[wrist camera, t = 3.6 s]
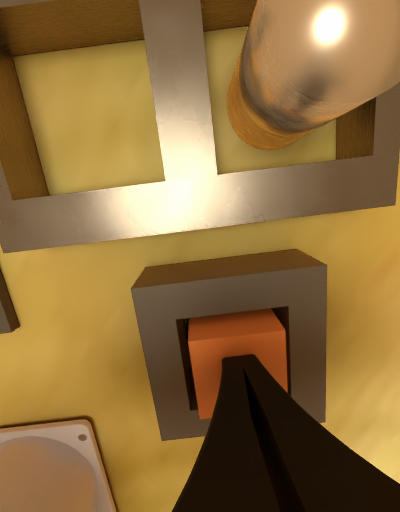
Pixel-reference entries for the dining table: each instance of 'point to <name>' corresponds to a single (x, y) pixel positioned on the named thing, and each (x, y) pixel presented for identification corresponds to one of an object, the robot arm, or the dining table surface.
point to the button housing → (229, 301)
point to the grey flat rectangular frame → (172, 134)
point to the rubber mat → (6, 310)
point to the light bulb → (311, 65)
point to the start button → (233, 349)
